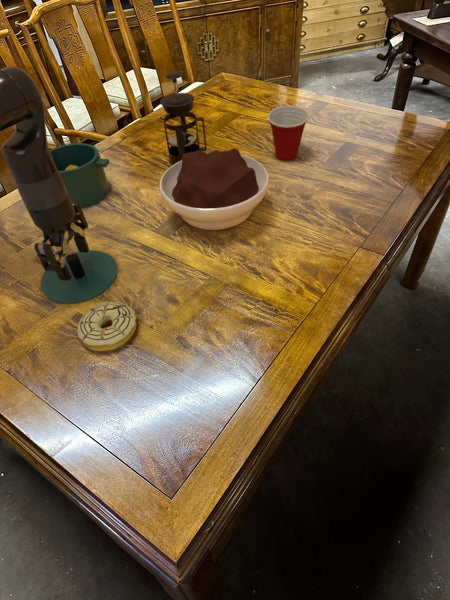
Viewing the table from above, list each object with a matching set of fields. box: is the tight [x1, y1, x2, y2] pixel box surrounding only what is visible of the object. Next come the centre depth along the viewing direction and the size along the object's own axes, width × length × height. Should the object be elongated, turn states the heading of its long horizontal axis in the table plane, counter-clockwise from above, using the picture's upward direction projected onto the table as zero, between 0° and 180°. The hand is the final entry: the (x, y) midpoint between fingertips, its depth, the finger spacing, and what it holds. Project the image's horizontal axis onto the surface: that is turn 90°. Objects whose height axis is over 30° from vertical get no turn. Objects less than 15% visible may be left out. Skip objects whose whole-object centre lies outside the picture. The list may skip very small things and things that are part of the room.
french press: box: [159, 71, 208, 166], centre depth 112 cm, size 12×9×23 cm
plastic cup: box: [267, 105, 310, 162], centre depth 114 cm, size 11×11×12 cm
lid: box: [40, 249, 119, 305], centre depth 86 cm, size 16×16×6 cm
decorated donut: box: [77, 301, 138, 352], centre depth 76 cm, size 10×11×4 cm
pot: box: [49, 142, 110, 209], centre depth 107 cm, size 15×20×10 cm
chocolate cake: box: [158, 147, 270, 231], centre depth 96 cm, size 25×25×15 cm
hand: (75, 264), depth 85 cm, fingers open, 8 cm apart
